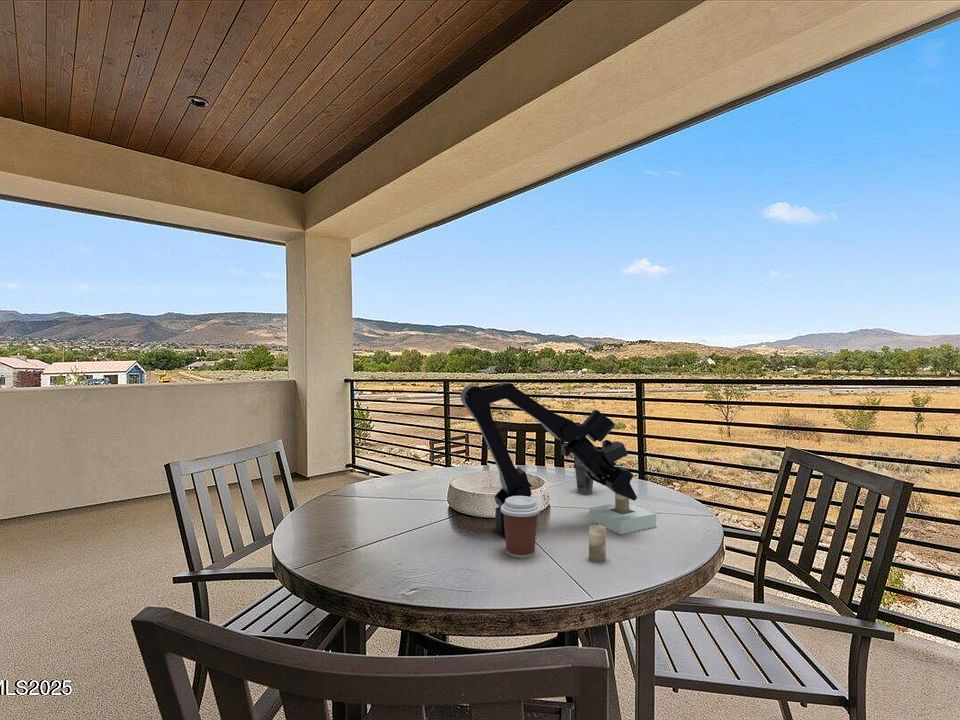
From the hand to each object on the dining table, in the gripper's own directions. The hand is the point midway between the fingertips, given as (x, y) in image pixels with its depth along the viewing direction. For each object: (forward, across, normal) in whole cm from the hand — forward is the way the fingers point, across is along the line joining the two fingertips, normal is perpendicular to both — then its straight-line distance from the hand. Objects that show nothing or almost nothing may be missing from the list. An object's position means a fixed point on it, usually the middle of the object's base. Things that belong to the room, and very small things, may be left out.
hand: (626, 494), depth 132 cm
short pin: (-7, -20, +18) cm, 28 cm away
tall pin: (+4, 0, +6) cm, 8 cm away
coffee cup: (-18, -13, +29) cm, 36 cm away
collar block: (+4, 0, +6) cm, 8 cm away
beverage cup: (+6, +30, +5) cm, 31 cm away
